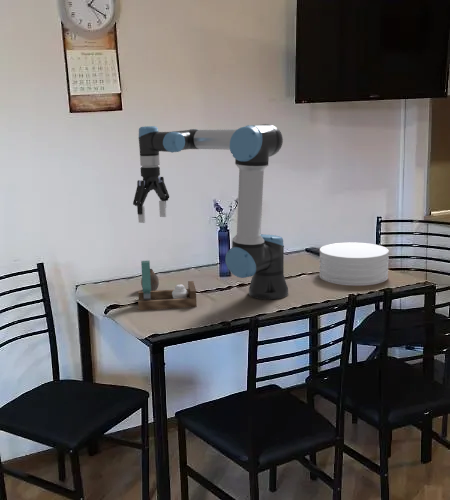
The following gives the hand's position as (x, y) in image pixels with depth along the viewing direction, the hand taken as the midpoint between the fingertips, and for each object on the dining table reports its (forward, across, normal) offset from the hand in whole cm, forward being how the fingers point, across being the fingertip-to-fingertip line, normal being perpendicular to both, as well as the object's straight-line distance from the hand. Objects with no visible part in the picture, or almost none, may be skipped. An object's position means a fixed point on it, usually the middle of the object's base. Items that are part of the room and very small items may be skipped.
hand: (152, 219), depth 276 cm
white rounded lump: (+27, +15, +23) cm, 38 cm away
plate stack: (+28, -49, +66) cm, 86 cm away
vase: (+27, +8, +4) cm, 29 cm away
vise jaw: (+27, +22, +13) cm, 37 cm away
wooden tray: (+27, +18, +19) cm, 38 cm away
